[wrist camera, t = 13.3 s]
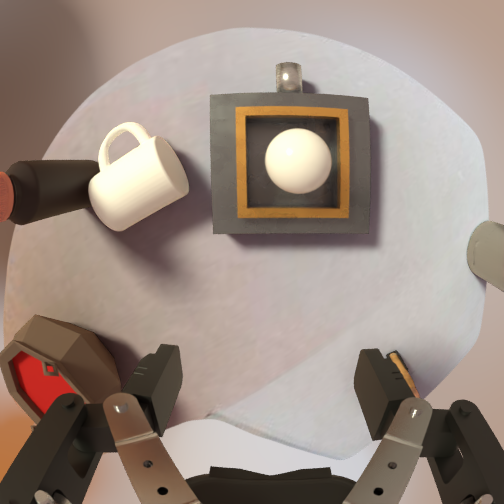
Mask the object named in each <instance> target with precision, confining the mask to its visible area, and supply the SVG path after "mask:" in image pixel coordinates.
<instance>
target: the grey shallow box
mask: <svg viewBox="0 0 504 504" xmlns="http://www.w3.org/2000/svg"><path fill="white" fill-rule="evenodd" d="M276 84H277V93H235V94H219V95H210V151H211V190H212V217H213V234H264V233H353V234H369V217H370V184H371V154H370V122H369V104H368V98H362V97H353V96H343V95H330V94H314V93H303V92H302V73H301V65H299V64H297V63H292V62H285V63H280V64H277V65H276ZM294 128H301V129H306V130H310V131H312V132H314V133H316V134H317V135H319V136H320V137H321V138H322V139H323V140H324V141H325V143H326V144H327V146H328V148H329V150H330V153H331V158H332V166H331V171H330V174H329V176H328V178H327V180H326V181H325V182H324V183H323V184H322V185H321V186H320V187H319V188H318V189H316V190H314V191H312V192H309V193H305V194H293V193H289V192H286V191H284V190H282V189H280V188H279V187H278V186H276V185H275V184H274V183H273V181H272V180H271V179H270V177H269V175H268V173H267V170H266V166H265V154H266V151H267V148H268V146H269V144H270V142H271V141H272V140H273V139H274V138H275V137H276V136H277V135H278V134H280V133H281V132H283V131H286V130H289V129H294Z"/></svg>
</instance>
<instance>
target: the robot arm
mask: <svg viewBox="0 0 504 504" xmlns="http://www.w3.org/2000/svg"><path fill="white" fill-rule="evenodd" d="M467 260H468V265H469V267H470V269H471V271H472V272H473V273H474V274H476V275H477V276H479V277H480V278H482V279H484V280H485V281H487V282H488V283H490V284H492V285H493V286H495V287H497V288H498V289H500V290H501V291H503V292H504V225H502V224H498V223H495V222H492V221H486V222H483V223H481V224H480V225H479V226H478V227H477V228H476V229H475V231H474V232H473V234H472V236H471V238H470V241H469V244H468V249H467ZM182 378H183V374H182V366H181V359H180V351H179V347H178V346H177V345H167V344H161V345H160V346H159V348H158V350H157V352H156V353H155V354H151V353H150V354H148V355H147V356H145V357H144V358H142V359H141V361H140V362H139V364H138V366H137V368H136V369H135V370H134V373H133V374H132V375H131V377H130V379H129V380H128V382H127V384H126V385H125V387H124V388H123V390H122V392H121V393H116V394H113V395H111V396H109V397H108V398H106V400H105V401H104V403H99V404H86V403H85V402H84V400H83V398H82V397H81V396H80V395H78V394H76V393H65V394H62V395H60V396H58V397H57V398H56V399H55V400H54V402H53V403H52V404H51V406H50V407H49V409H48V410H47V411H46V413H45V414H44V416H43V417H42V419H41V420H40V422H39V423H38V425H37V426H36V427H35V429H34V430H33V432H32V433H31V435H30V436H29V438H28V439H27V441H26V443H25V444H24V446H23V447H22V449H21V450H20V452H19V453H18V455H17V457H16V458H15V460H14V461H13V463H12V465H11V466H10V468H9V470H8V471H7V473H6V475H5V476H4V478H3V480H2V481H1V483H0V504H82V502H83V500H84V497H85V494H86V492H87V489H88V487H89V485H90V482H91V480H92V477H93V475H94V473H95V470H96V468H97V465H98V463H99V461H100V458H101V456H102V454H103V452H118V454H119V456H120V458H121V461H122V463H123V466H124V468H125V470H126V473H127V475H128V477H129V479H130V482H131V484H132V486H133V488H134V490H135V492H136V494H137V496H138V498H139V500H140V502H141V504H398V503H399V501H400V499H401V497H402V495H403V493H404V491H405V489H406V487H407V484H408V482H409V480H410V478H411V476H412V473H413V471H414V469H415V466H416V464H417V461H418V459H419V457H427V460H428V463H429V465H430V468H431V471H432V474H433V477H434V479H435V482H436V485H437V488H438V491H439V494H440V497H441V500H442V503H443V504H504V450H503V449H502V447H501V445H500V443H499V442H498V440H497V438H496V437H495V435H494V433H493V432H492V430H491V428H490V427H489V425H488V423H487V422H486V420H485V419H484V417H483V415H482V414H481V412H480V411H479V409H478V407H477V406H476V405H475V404H474V403H472V402H470V401H467V400H457V401H455V402H453V404H452V405H451V407H450V409H449V410H444V409H432V407H431V405H430V404H429V403H428V402H427V401H425V400H424V399H421V398H417V397H415V395H414V394H413V392H412V390H411V388H410V387H409V385H408V383H407V382H406V380H405V379H404V376H403V375H402V373H400V370H399V368H398V366H397V365H396V364H395V363H394V362H393V361H391V360H390V359H389V358H386V359H384V358H383V356H382V354H381V352H380V351H379V349H362V350H361V351H360V354H359V359H358V363H357V367H356V372H355V376H354V389H355V392H356V395H357V397H358V400H359V403H360V406H361V409H362V412H363V414H364V417H365V420H366V423H367V426H368V429H369V432H370V435H371V438H372V441H375V440H381V439H382V441H381V443H380V445H379V446H378V448H377V450H376V452H375V453H374V455H373V457H372V458H371V460H370V462H369V464H368V465H367V467H366V468H365V470H364V472H363V473H362V475H361V477H360V478H359V480H358V481H357V482H355V481H353V480H351V479H348V478H345V477H342V476H337V475H331V469H330V467H326V468H313V469H301V470H296V471H292V472H287V473H282V474H278V475H270V476H269V475H265V474H260V473H255V472H251V471H247V470H243V469H236V468H223V467H212V466H211V467H210V472H209V474H203V475H198V476H194V477H191V478H189V479H186V480H184V478H183V477H182V475H181V474H180V472H179V470H178V469H177V467H176V466H175V464H174V462H173V461H172V459H171V457H170V456H169V454H168V452H167V451H166V449H165V447H164V446H163V444H162V442H161V440H160V438H159V437H162V436H163V433H164V431H165V428H166V426H167V423H168V420H169V417H170V415H171V412H172V409H173V407H174V404H175V401H176V399H177V396H178V393H179V391H180V388H181V385H182ZM458 448H459V449H460V451H461V453H462V455H463V457H462V455H461V453H460V451H459V449H458Z"/></svg>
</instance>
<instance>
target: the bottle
mask: <svg viewBox="0 0 504 504" xmlns="http://www.w3.org/2000/svg"><path fill="white" fill-rule="evenodd" d="M98 173H100V168H99V163H97V162H95V161H93V160H36V161H35V160H33V161H18V162H16V163H14V164H13V165H11V167H10V168H9V169H8V170H7V171H6V172H0V222H3V221H5V220H7V219H10V220H11V221H12V222H13V223H15V224H18V225H25V224H28V223H32V222H35V221H38V220H42V219H45V218H49V217H52V216H56V215H60V214H64V213H67V212H71V211H75V210H79V209H83V208H87V207H91V206H92V205H91V202H90V198H89V192H88V188H89V183H90V180H91V179H92V178H93V177H94V176H95V175H97V174H98Z"/></svg>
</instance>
